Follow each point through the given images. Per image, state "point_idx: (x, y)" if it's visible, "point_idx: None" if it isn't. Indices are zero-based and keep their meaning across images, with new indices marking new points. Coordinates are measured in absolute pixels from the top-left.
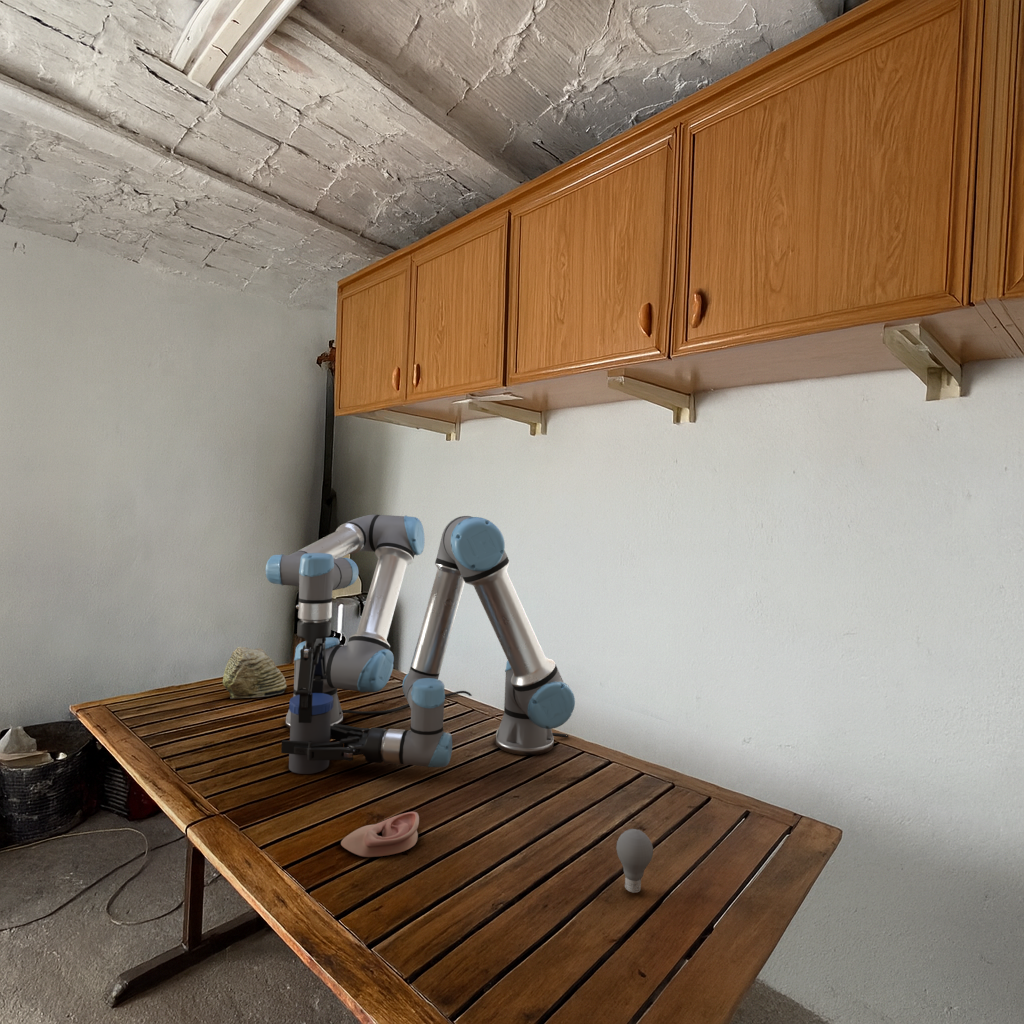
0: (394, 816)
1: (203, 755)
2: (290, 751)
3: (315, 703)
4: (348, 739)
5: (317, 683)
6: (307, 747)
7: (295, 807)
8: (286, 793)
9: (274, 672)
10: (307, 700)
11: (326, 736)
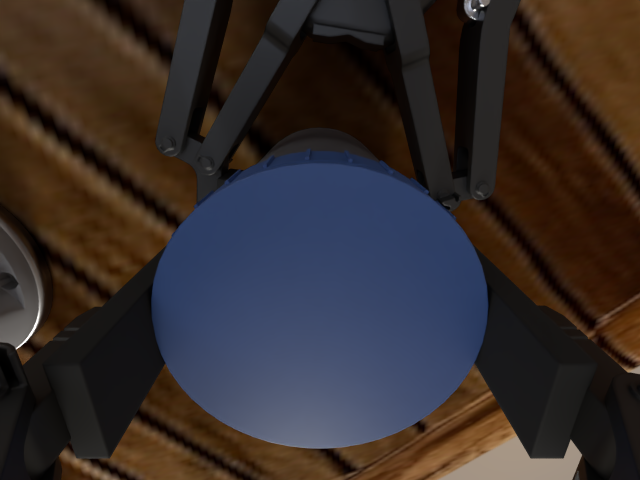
0: None
1: (271, 453)
2: None
3: (432, 280)
4: (409, 10)
5: (110, 389)
6: None
7: (611, 159)
8: (512, 209)
9: None
10: (605, 353)
11: (358, 148)
